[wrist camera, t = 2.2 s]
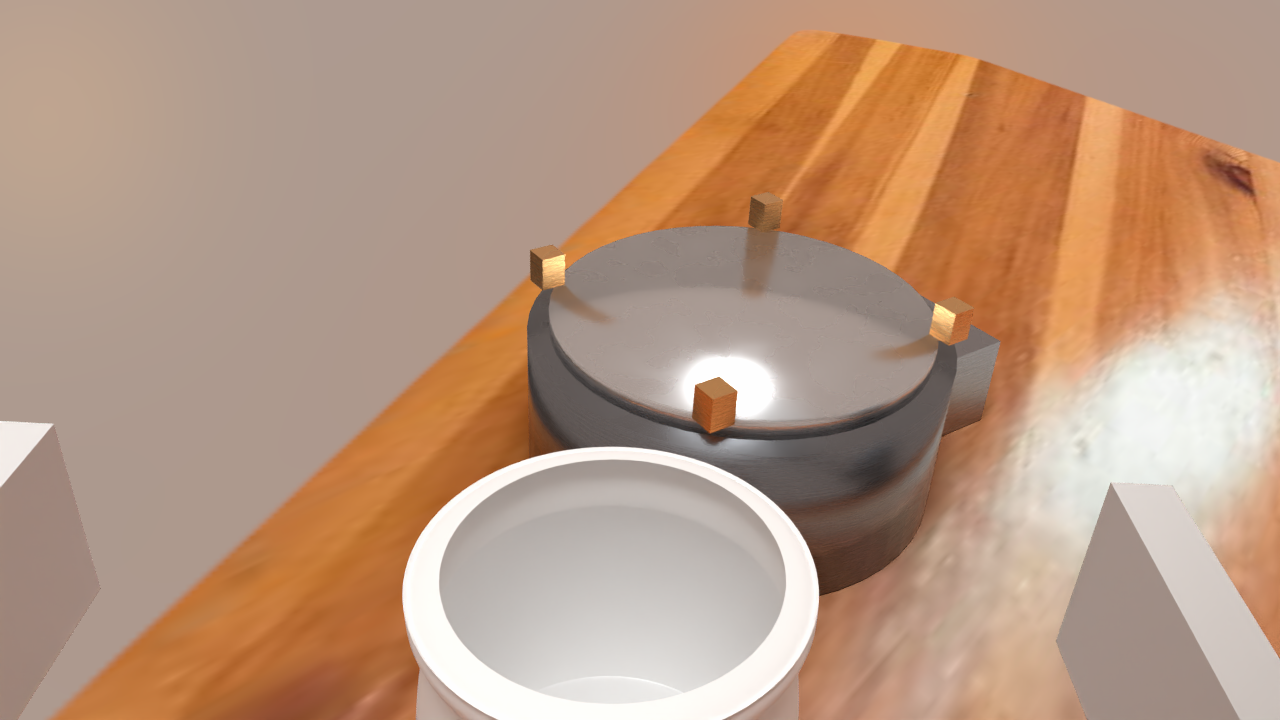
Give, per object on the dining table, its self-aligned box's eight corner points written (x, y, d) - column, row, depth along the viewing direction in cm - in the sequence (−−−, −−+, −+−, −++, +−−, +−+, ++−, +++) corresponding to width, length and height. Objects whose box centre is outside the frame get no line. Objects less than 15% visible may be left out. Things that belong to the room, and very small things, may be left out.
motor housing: (812, 309, 70) (835, 152, 64) (1070, 478, 56) (1128, 296, 50) (461, 421, 58) (451, 239, 52) (679, 670, 44) (696, 459, 39)
